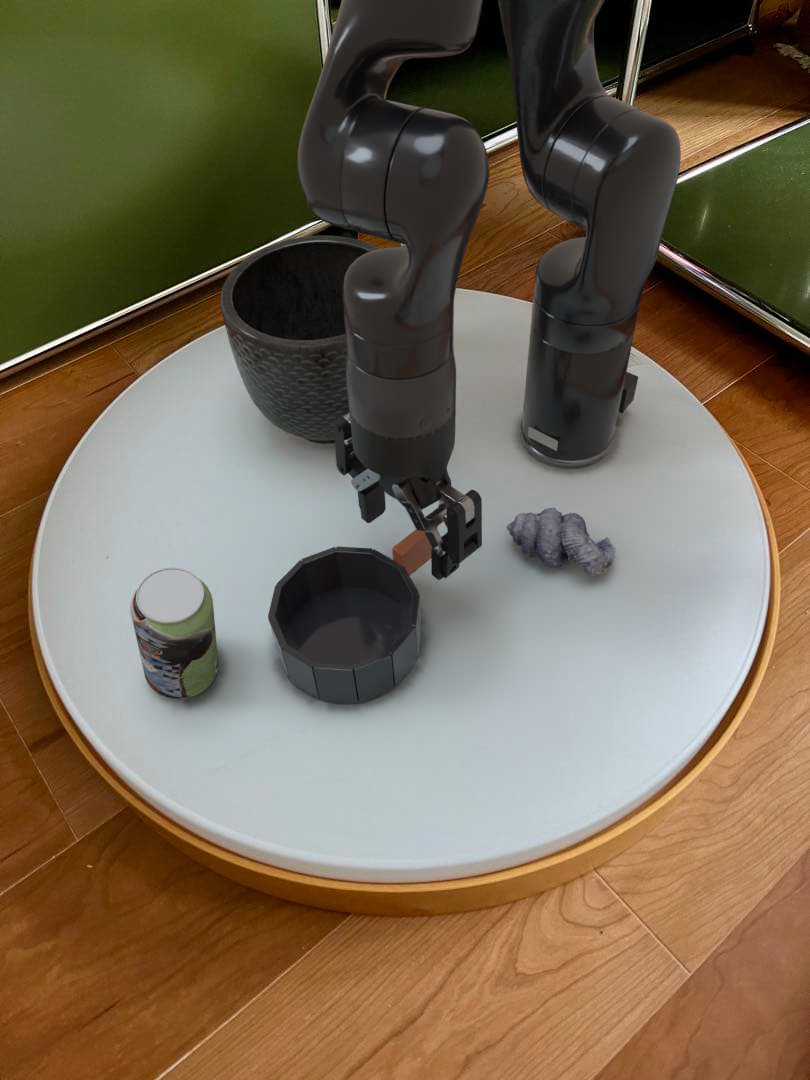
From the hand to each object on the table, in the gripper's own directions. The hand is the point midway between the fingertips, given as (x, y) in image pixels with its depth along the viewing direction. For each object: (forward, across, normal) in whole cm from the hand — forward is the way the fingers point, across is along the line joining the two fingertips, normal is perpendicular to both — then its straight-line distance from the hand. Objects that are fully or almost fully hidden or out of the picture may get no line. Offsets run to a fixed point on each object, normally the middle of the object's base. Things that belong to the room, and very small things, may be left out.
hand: (407, 543), depth 75 cm
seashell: (+6, -7, -12) cm, 15 cm away
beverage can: (+7, +7, +19) cm, 21 cm away
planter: (+7, +22, -10) cm, 25 cm away
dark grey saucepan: (+7, 0, +6) cm, 9 cm away
